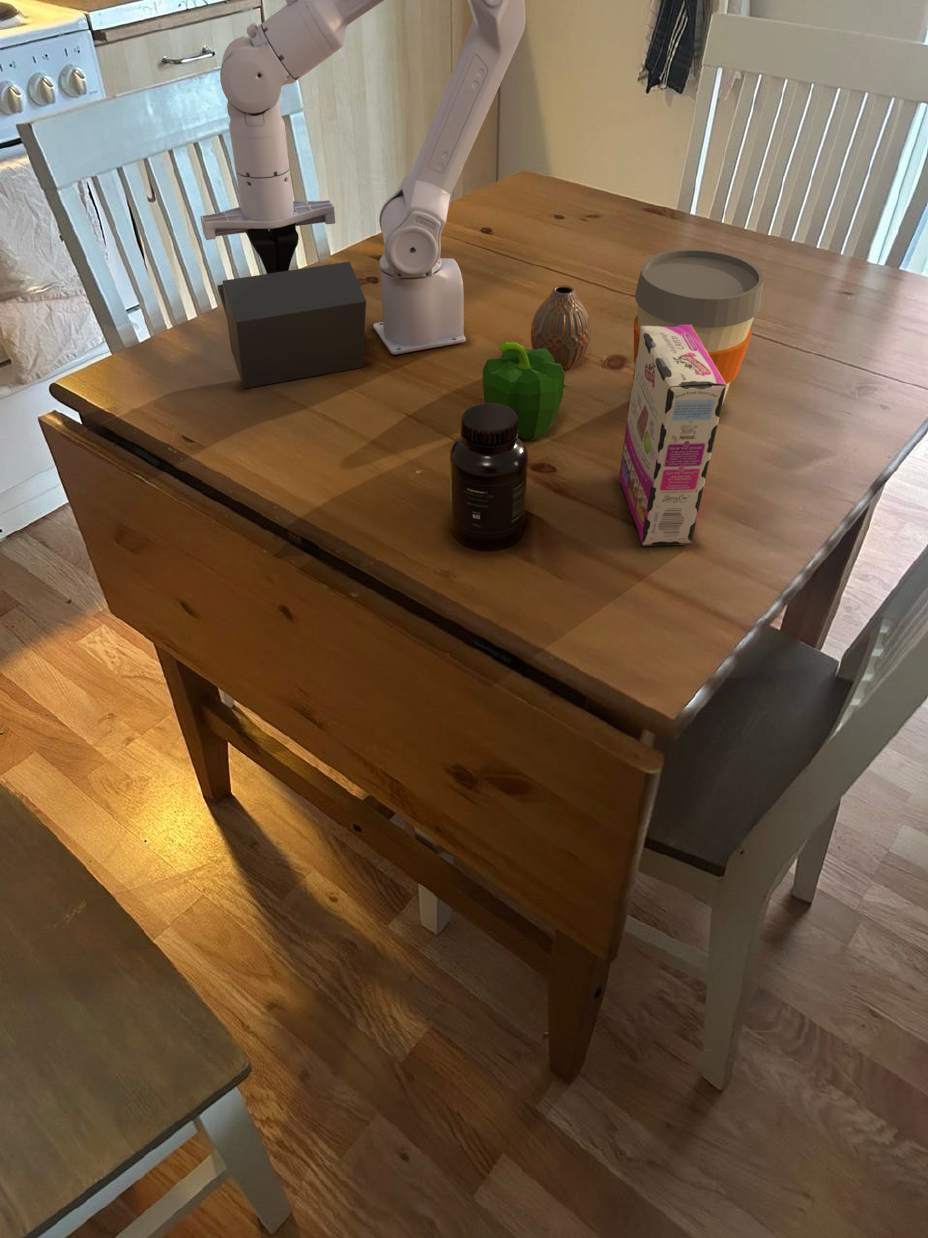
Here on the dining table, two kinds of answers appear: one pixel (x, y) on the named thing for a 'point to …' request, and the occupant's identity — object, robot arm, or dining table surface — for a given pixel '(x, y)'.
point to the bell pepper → (525, 387)
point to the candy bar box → (669, 433)
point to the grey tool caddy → (295, 323)
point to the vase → (562, 327)
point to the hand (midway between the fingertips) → (278, 291)
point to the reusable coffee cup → (702, 301)
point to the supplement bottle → (488, 478)
